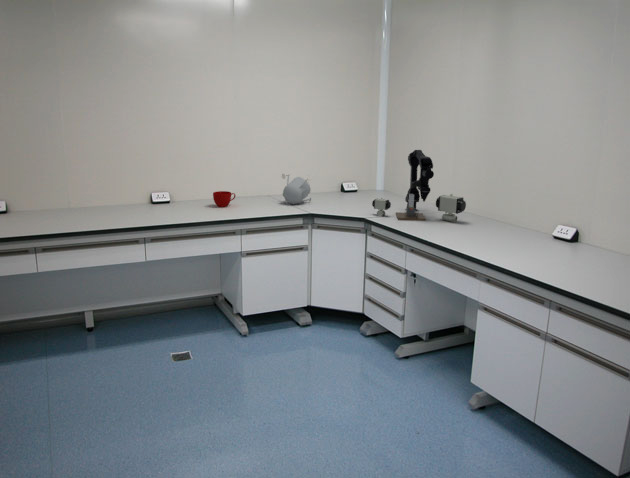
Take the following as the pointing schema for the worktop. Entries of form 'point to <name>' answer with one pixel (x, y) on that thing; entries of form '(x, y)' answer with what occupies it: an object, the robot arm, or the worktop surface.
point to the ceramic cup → (222, 198)
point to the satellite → (296, 190)
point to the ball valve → (450, 206)
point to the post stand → (410, 215)
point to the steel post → (411, 201)
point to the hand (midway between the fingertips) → (422, 200)
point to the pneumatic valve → (381, 206)
